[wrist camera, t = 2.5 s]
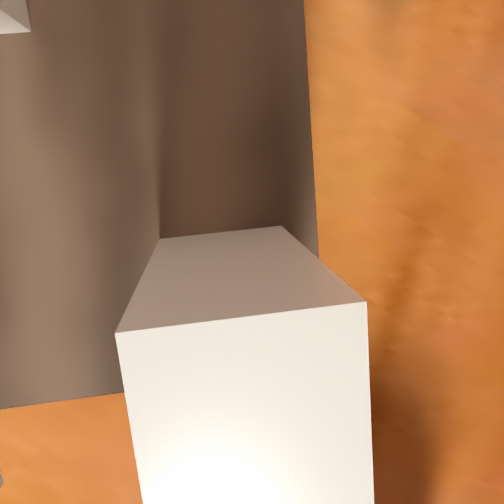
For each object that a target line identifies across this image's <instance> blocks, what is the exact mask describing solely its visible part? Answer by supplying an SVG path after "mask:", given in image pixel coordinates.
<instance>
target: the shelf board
mask: <svg viewBox="0 0 504 504" xmlns="http://www.w3.org/2000/svg"><path fill="white" fill-rule="evenodd" d="M26 4H27V10H28V15H29V21H30V26H31V32H23V33H8V34H0V409H7V408H14V407H21V406H28V405H36V404H43V403H50V402H58V401H65V400H72V399H80V398H87V397H94V396H101V395H109V394H116V393H123V392H124V386H123V380H122V374H121V368H120V362H119V356H118V350H117V344H116V338H115V331H116V329H117V327H118V325H119V323H120V321H121V319H122V317H123V315H124V312H125V310H126V308H127V306H128V304H129V302H130V300H131V298H132V296H133V294H134V292H135V289H136V287H137V285H138V283H139V281H140V279H141V277H142V275H143V273H144V271H145V268H146V266H147V264H148V262H149V260H150V258H151V256H152V254H153V252H154V250H155V248H156V245H157V243H158V241H159V239H163V238H172V237H181V236H191V235H200V234H209V233H218V232H227V231H237V230H246V229H255V228H264V227H273V226H282V227H283V228H285V229H286V230H287V231H288V232H289V233H290V234H291V235H292V236H294V237H295V238H296V239H297V240H298V241H299V242H300V243H301V244H303V245H304V246H305V247H306V248H307V249H308V250H309V251H310V252H312V253H313V254H314V255H315V256H316V257H317V258H318V259H319V252H318V235H317V219H316V202H315V186H314V169H313V152H312V136H311V119H310V103H309V86H308V70H307V53H306V37H305V20H304V3H303V0H26Z"/></svg>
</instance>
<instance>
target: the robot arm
mask: <svg viewBox="0 0 504 504" xmlns="http://www.w3.org/2000/svg"><path fill="white" fill-rule="evenodd" d="M2 485H3V479H2V475H1V471H0V488H1V486H2Z"/></svg>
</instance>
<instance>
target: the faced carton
mask: <svg viewBox="0 0 504 504" xmlns="http://www.w3.org/2000/svg"><path fill="white" fill-rule="evenodd" d="M23 32H31V26H30V21H29V15H28V10H27V4H26V0H0V34H8V33H23Z"/></svg>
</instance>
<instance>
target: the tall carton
mask: <svg viewBox="0 0 504 504" xmlns="http://www.w3.org/2000/svg"><path fill="white" fill-rule="evenodd" d="M115 338H116V344H117V350H118V356H119V362H120V368H121V374H122V380H123V386H124V392H125V398H126V404H127V410H128V416H129V422H130V428H131V434H132V440H133V446H134V451H135V457H136V463H137V469H138V475H139V481H140V487H141V493H142V499H143V504H374V483H373V457H372V430H371V404H370V377H369V350H368V324H367V301H366V300H364V299H363V298H362V297H361V296H360V295H359V294H358V293H357V292H355V291H354V290H353V289H352V288H351V287H350V286H349V285H348V284H346V283H345V282H344V281H343V280H342V279H341V278H340V277H339V276H337V275H336V274H335V273H334V272H333V271H332V270H331V269H330V268H328V267H327V266H326V265H325V264H324V263H323V262H322V261H321V260H319V259H318V258H317V257H316V256H315V255H314V254H313V253H312V252H310V251H309V250H308V249H307V248H306V247H305V246H304V245H303V244H301V243H300V242H299V241H298V240H297V239H296V238H295V237H294V236H292V235H291V234H290V233H289V232H288V231H287V230H286V229H285V228H283V227H282V226H273V227H264V228H255V229H246V230H237V231H227V232H218V233H209V234H200V235H191V236H181V237H172V238H163V239H159V241H158V243H157V245H156V248H155V250H154V252H153V254H152V256H151V258H150V260H149V262H148V264H147V266H146V268H145V271H144V273H143V275H142V277H141V279H140V281H139V283H138V285H137V287H136V289H135V292H134V294H133V296H132V298H131V300H130V302H129V304H128V306H127V308H126V310H125V312H124V315H123V317H122V319H121V321H120V323H119V325H118V327H117V329H116V331H115Z"/></svg>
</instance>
